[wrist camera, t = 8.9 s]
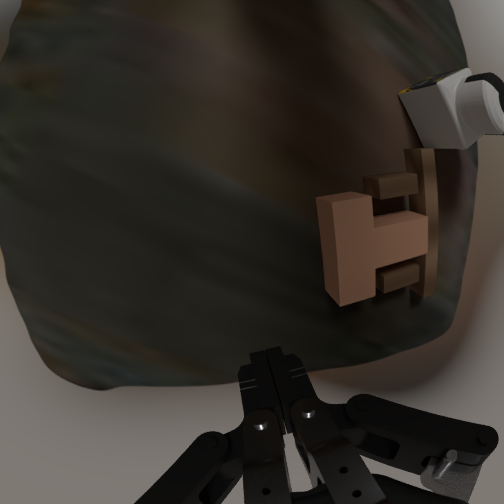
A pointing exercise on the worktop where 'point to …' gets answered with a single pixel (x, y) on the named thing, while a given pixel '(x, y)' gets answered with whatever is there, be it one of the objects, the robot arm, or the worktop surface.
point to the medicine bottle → (455, 108)
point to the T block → (364, 243)
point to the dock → (422, 202)
